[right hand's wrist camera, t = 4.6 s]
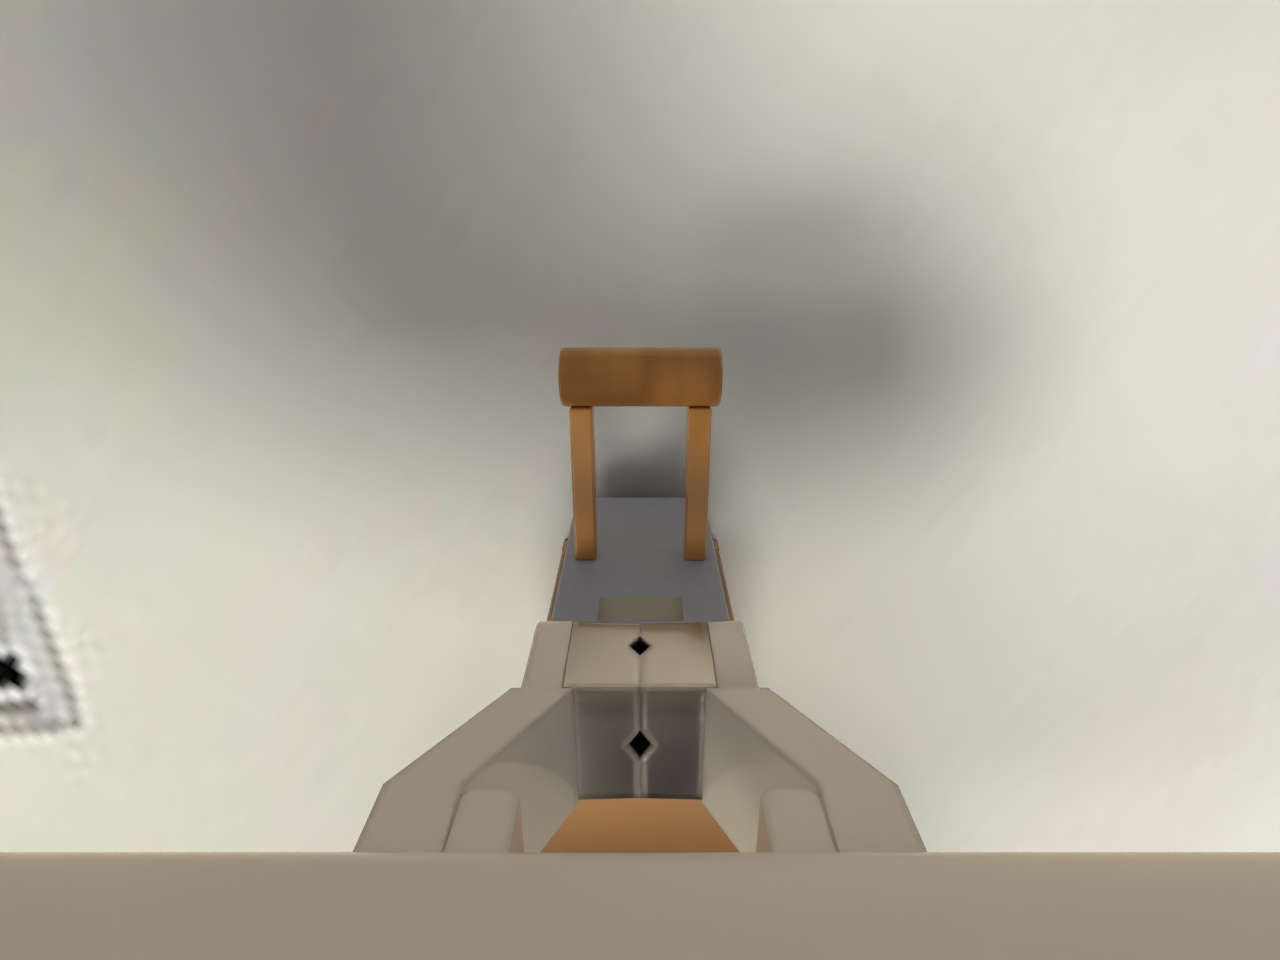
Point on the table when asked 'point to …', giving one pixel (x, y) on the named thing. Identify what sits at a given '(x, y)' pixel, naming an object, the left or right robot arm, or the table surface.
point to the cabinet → (640, 811)
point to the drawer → (640, 526)
